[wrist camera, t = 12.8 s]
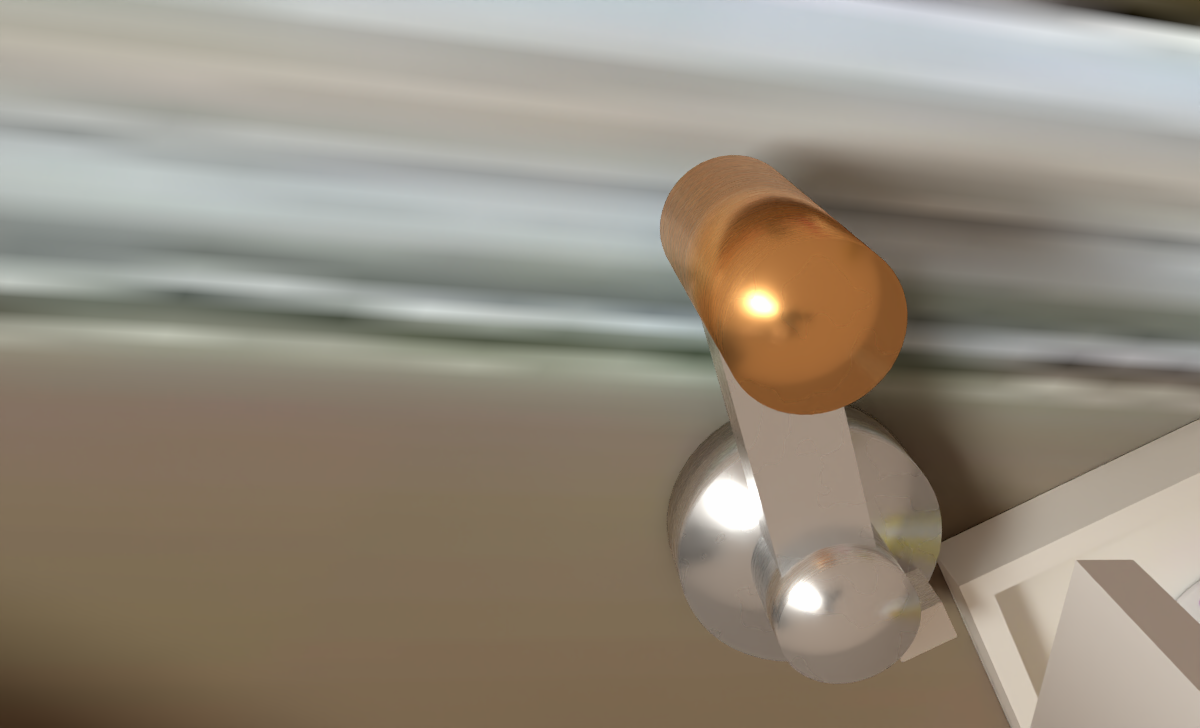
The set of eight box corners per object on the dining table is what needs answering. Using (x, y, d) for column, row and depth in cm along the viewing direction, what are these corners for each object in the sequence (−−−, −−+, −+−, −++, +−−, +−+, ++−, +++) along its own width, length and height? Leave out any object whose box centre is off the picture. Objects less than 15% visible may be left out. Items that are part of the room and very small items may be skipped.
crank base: (728, 655, 40) (757, 740, 36) (623, 472, 36) (642, 543, 32) (947, 551, 39) (1002, 625, 35) (861, 354, 36) (911, 411, 32)
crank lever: (891, 592, 36) (1006, 778, 28) (767, 631, 36) (847, 827, 28) (787, 134, 29) (898, 209, 22) (636, 183, 30) (693, 276, 22)
